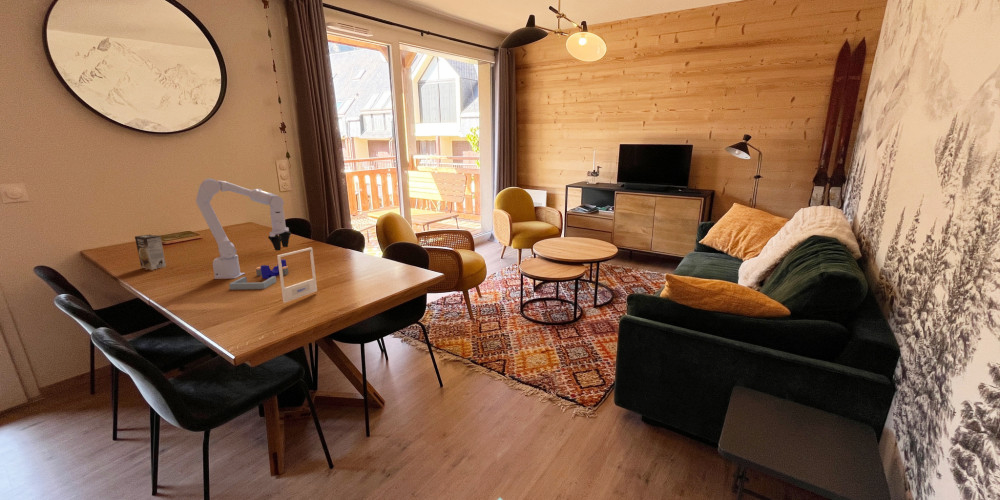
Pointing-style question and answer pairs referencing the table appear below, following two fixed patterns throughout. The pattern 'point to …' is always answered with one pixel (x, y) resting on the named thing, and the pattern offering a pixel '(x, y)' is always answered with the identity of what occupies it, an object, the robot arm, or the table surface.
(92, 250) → the table surface
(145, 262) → the coffee box
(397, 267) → the table surface
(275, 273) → the blue stepped bar
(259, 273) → the posts
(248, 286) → the grey bent bracket
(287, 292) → the photo frame
